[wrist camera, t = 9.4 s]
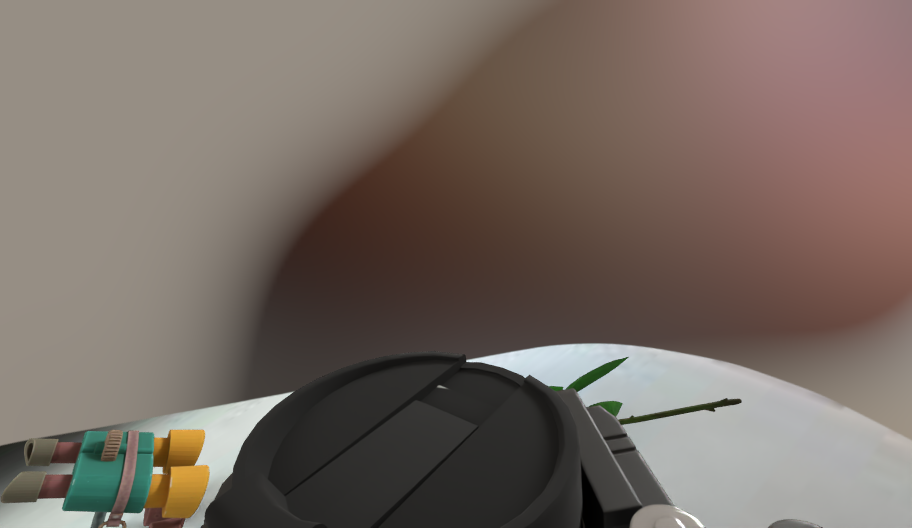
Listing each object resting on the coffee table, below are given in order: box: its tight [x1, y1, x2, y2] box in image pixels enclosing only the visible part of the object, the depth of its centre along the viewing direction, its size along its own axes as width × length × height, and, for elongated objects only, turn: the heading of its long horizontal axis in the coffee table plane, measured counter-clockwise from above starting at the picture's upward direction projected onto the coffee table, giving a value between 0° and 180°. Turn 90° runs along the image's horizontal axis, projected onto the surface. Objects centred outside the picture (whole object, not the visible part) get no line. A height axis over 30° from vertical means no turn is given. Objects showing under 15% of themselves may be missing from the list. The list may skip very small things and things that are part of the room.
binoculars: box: [1, 430, 210, 528], centre depth 27 cm, size 9×9×10 cm
